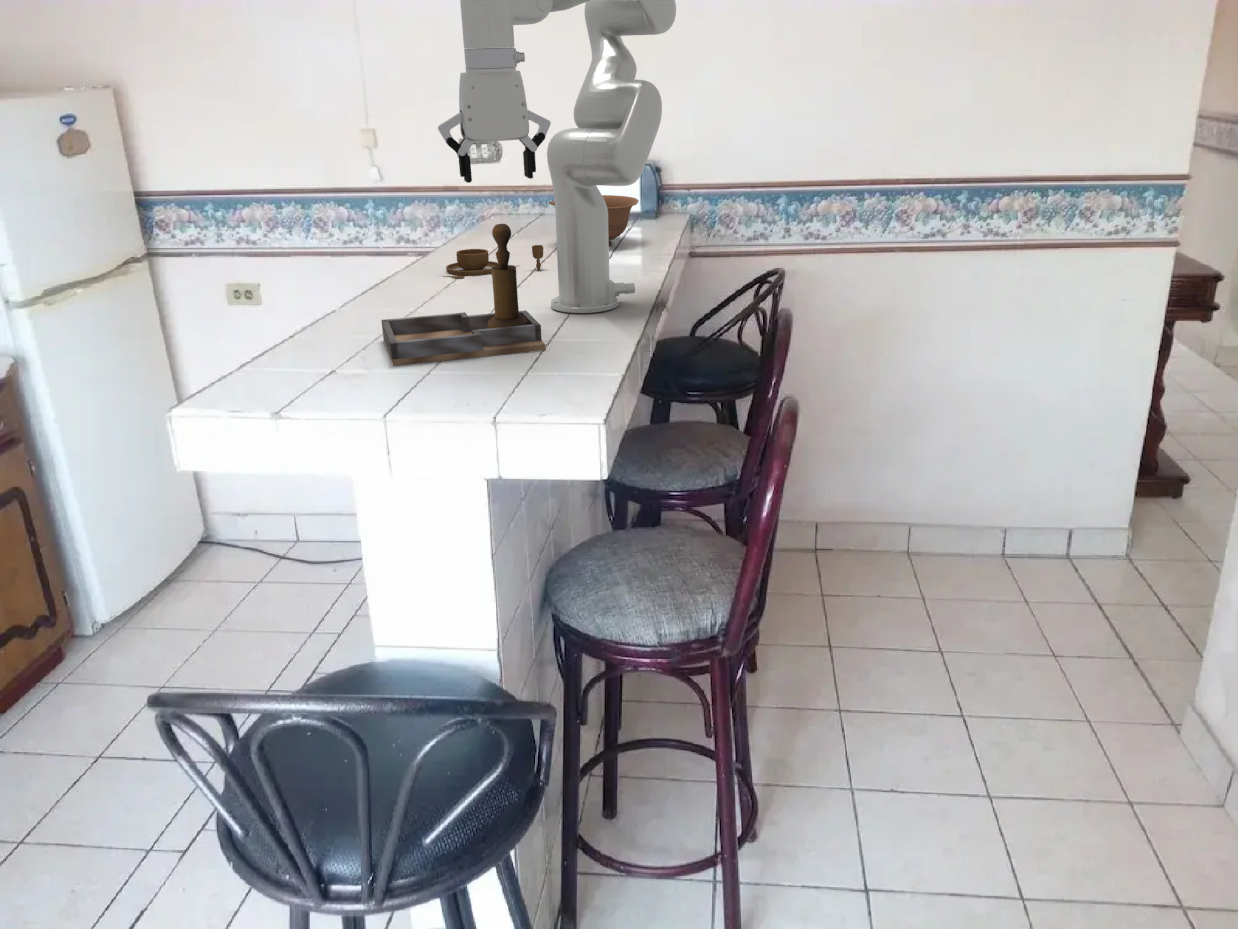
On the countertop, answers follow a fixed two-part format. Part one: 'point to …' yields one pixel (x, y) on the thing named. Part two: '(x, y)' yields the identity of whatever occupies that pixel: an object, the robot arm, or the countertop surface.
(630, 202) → the bowl
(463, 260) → the place setting
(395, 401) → the countertop surface
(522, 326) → the keyhole board
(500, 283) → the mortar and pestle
